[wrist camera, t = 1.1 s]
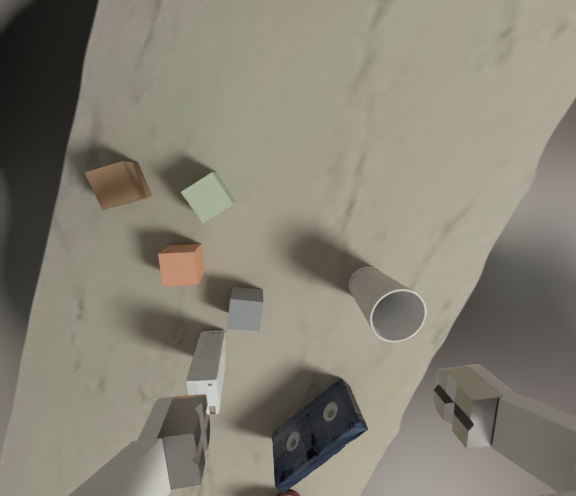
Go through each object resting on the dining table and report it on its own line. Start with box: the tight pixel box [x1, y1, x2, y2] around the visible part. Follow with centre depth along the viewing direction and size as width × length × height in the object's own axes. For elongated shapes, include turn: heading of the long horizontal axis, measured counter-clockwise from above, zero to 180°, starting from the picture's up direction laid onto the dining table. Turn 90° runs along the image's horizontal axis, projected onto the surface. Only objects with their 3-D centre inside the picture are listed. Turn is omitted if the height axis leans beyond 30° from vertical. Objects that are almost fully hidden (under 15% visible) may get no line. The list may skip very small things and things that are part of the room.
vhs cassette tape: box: [272, 379, 368, 493], centre depth 51 cm, size 18×3×10 cm, turn 130°
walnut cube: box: [85, 161, 152, 210], centre depth 39 cm, size 5×5×5 cm
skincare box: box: [186, 330, 226, 414], centre depth 44 cm, size 6×4×12 cm
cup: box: [348, 266, 427, 342], centre depth 44 cm, size 8×8×12 cm
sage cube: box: [181, 172, 236, 223], centre depth 41 cm, size 5×5×5 cm
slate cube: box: [227, 287, 263, 331], centre depth 46 cm, size 5×5×5 cm
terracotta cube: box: [158, 244, 204, 287], centre depth 43 cm, size 5×5×5 cm
